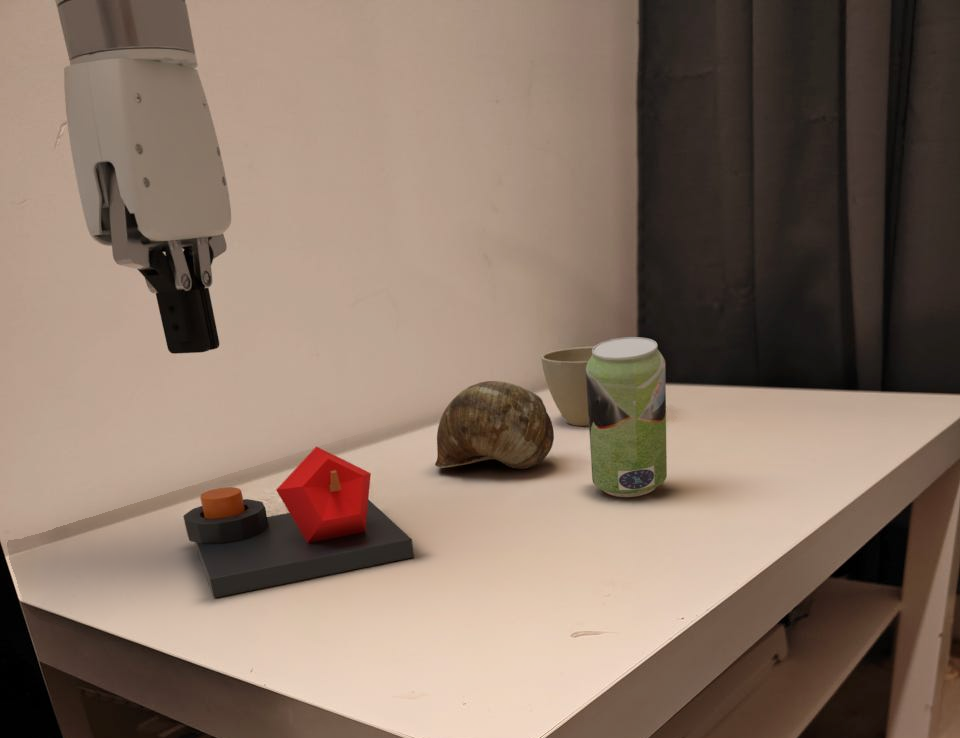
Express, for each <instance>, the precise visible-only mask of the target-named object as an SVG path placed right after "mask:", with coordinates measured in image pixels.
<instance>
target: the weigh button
mask: <svg viewBox="0 0 960 738" xmlns="http://www.w3.org/2000/svg"><path fill="white" fill-rule="evenodd" d="M199 499H200V502H201V503H200V504H201V506H202V508H203V512H204V517H205V518H208V519H212V518H225V517H230V516H235V515H238V514H241V513H243V512H245V508H244V502H243V499H244V497H243V492H242V489H241V488H239V487H233V486H232V487H230V486H229V487H218V488H214V489H210V490H207V491H204V492H203V493H201V494H200V495H199Z"/></svg>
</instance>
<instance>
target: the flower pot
mask: <svg viewBox="0 0 960 738" xmlns="http://www.w3.org/2000/svg"><path fill="white" fill-rule="evenodd" d="M593 348H594V346H579V347H569V348H568V347H567V348H561V349H557V350H552V351H548V352H546V353H543V354H542V355H540V356H541V357H540V359H541V366H542V370H543V374H544V378H545V381H546V385H547V388H548V390H549V393H550V395H551V398H552V400H553V402H554V403H555V406H556V407H557V409H558V411H559V413H560V414H561V416H562V418H563V419H564V420H565V422H566V423H567V424H568V425H573V426H578V427H579V426H580V427H581V426H582V427H589V416H588V399H587V383H586V366H587V363H588V361H589V360H590V358H591V356H592V354H593V353H592V349H593Z"/></svg>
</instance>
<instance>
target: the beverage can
mask: <svg viewBox="0 0 960 738" xmlns="http://www.w3.org/2000/svg"><path fill="white" fill-rule="evenodd" d="M658 346H659V345H658V343H657V341H655V340H654V339H651V338H647V337H639V336H638V337H637V336H627V337H626V336H625V337H618V338H612V339H608V340H604V341H601V342H599V343H597V344H595V345H594V346H593V347H594V348H593V349H592V353H593V354H592V356H591V358H590V360H589V361H588V363H587V366H586V383H587V399H588V416H589V426H588V429H589V445H590V447H589V449H590V464H591V479H592V483H593V484H594V486H595V487H596V488H598V489H600V490H601V491H603V492H604V493H605V494H607V495H609V496H613V497H617V498H635V497H641V496H644V495H647V494H650V493H652V492H653V491H654V490H656V489H657V487H659V486H660V485H662V484H663V483H664V482H665V481H666V479H667V476H668V475H667V474H668V472H667V471H668V467H667V466H668V465H667V462H668V461H667V389H666V388H667V386H666V384H667V382H666V379H667V378H666V377H667V376H666V375H667V374H666V359H665V358H664V356H663V354H662V353H661V351H660V350H659V349H658Z"/></svg>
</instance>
